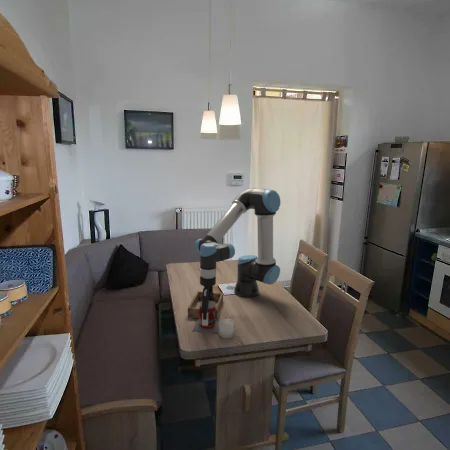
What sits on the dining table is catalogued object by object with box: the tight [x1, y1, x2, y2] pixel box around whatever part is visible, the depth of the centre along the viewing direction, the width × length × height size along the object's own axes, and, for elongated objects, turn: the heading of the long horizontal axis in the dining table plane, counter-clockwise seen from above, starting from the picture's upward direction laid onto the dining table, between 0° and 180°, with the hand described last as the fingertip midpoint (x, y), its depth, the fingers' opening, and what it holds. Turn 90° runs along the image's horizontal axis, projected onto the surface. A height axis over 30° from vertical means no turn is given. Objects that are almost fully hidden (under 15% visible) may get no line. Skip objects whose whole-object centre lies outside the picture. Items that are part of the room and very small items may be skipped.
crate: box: [187, 291, 224, 320], centre depth 172 cm, size 15×22×5 cm
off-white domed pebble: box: [218, 318, 235, 339], centre depth 147 cm, size 7×7×6 cm
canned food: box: [198, 301, 217, 329], centre depth 154 cm, size 8×8×11 cm
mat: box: [192, 318, 221, 334], centre depth 155 cm, size 12×12×1 cm
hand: (207, 319), depth 154 cm, fingers open, 11 cm apart
